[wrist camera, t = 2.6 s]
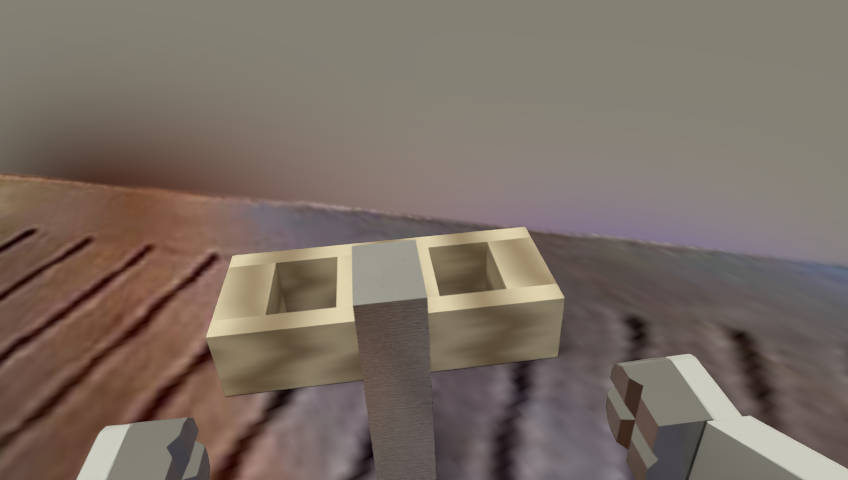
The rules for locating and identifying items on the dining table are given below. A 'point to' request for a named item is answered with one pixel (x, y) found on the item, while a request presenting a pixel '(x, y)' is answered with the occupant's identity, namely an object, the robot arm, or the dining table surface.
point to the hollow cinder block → (334, 317)
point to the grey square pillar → (395, 358)
